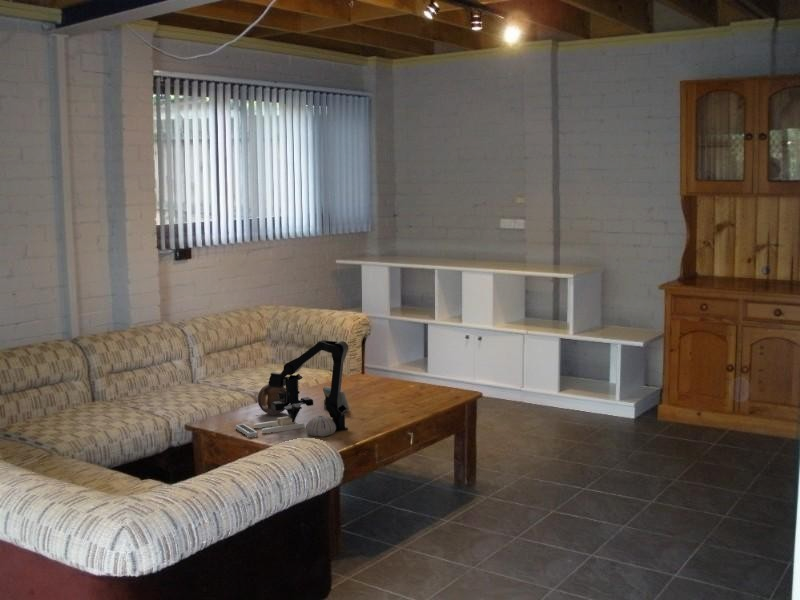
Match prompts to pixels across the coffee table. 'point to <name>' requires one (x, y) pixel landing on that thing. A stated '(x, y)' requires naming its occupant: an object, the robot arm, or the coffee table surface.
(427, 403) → the coffee table surface
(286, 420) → the birch block
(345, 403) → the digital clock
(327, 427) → the sea urchin shell
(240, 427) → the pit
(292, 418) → the robot arm
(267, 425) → the channel
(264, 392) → the wooden sphere
